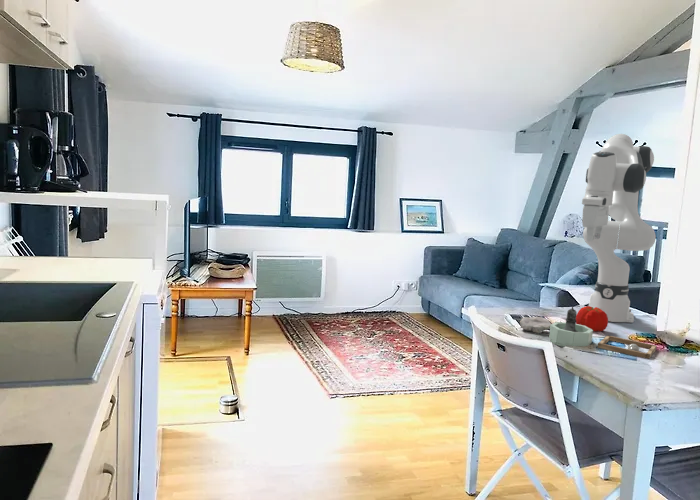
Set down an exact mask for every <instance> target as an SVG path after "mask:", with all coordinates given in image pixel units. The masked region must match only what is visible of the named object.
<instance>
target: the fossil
mask: <svg viewBox="0 0 700 500" xmlns="http://www.w3.org/2000/svg"><path fill="white" fill-rule="evenodd" d="M551 324H552V323H551V322H550V320H549V319H548V318H545V317H541V316H531V317H526V316H524V317H522V318H521V320H520V321H519V325H520V327H521V329H523V330H524V331H527V332H533V333H534V334H541V333H542V332H543V331H547V330H550V325H551Z"/></svg>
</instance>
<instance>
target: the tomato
mask: <svg viewBox="0 0 700 500" xmlns="http://www.w3.org/2000/svg"><path fill="white" fill-rule="evenodd" d="M576 320H577V322H576V324H579V325H584V326H586V327H588V328H590V329H592V330H593V332H604V331H605V330H606V329H607V327H608V325H609V321H608V317H607V314H606V313H605V312H604V311H602V310H601V308H600V309H599V308H597V307H595V308H593V307H590V306H589V305H587V306H583V307H581V308H580V309H579V310H578V311H577V314H576Z"/></svg>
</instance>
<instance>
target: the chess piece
mask: <svg viewBox="0 0 700 500" xmlns="http://www.w3.org/2000/svg"><path fill="white" fill-rule="evenodd" d="M577 313H578V311H576V309H574V307H573V306H571V308H570V309H568V310H567V313H566V318H564V320H565V322H566V326H565V328H564V329H563V330H567V331H572V332H578V331H576V329H575V325H576V322H577V320H576V315H577Z"/></svg>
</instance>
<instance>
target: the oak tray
mask: <svg viewBox="0 0 700 500" xmlns="http://www.w3.org/2000/svg"><path fill="white" fill-rule="evenodd" d="M609 341H610V342H615V341H616V342H615V343H619V342H620V344H625V345H628V346H629V345H630V344H636V345H637V346H638V347H639V348H643V349H646V350H647V349H648V351H647V352H641V351H640V350H639V351H634V350H630V349H628V348H623V347H621V346H620V347H619V346H616V345H615V346H614V345H611V344H607V343H608V342H609ZM597 348H598V349H602V350H607V351H611V352H616V353H621V354H625V355H629V356H633V357H637V358H641V359H642V358H643V359H646V360H649V359H650V358H651V357H652V356H653V354H654V353H655V352H656V350H657V345H655V344H653V343H646V342H641V341H637V340H632V339H626V338H623V337H617V336H615V335H614V336H613V335H608V334H606V336H605V337H604V338H602V339H601V340H600V341H598V343H597Z"/></svg>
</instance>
